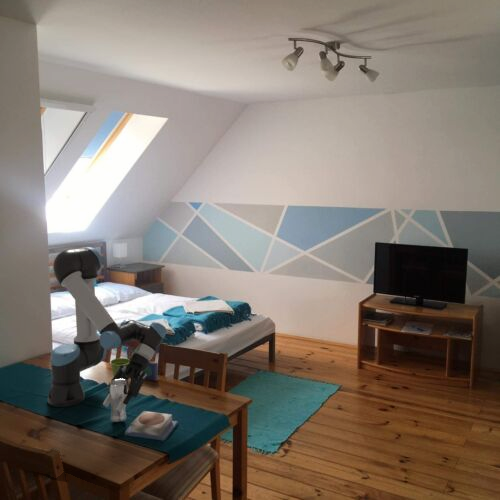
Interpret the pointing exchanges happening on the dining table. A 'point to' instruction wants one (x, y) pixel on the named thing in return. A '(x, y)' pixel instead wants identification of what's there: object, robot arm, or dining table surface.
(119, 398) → the silver metal cup
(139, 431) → the plinth
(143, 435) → the grey flat slab
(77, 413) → the dining table surface
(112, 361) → the plant pot
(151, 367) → the flask
